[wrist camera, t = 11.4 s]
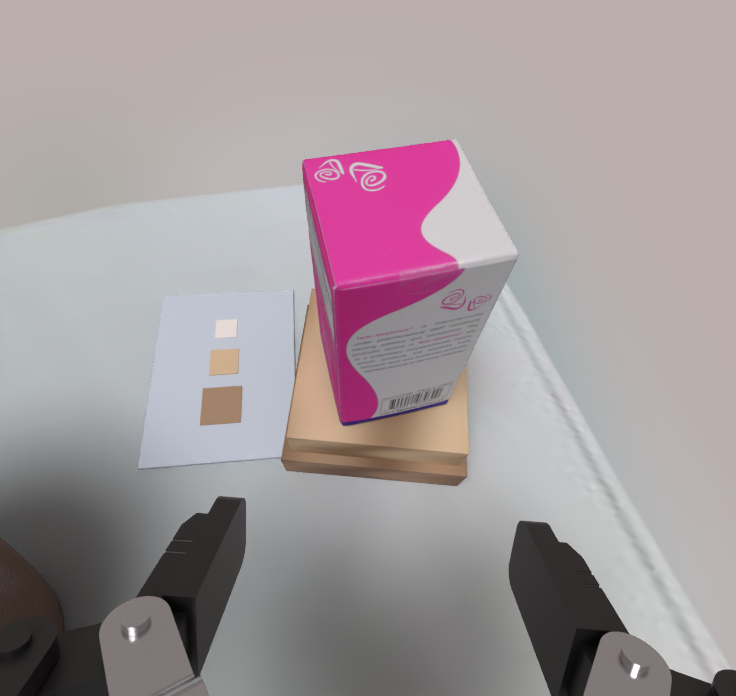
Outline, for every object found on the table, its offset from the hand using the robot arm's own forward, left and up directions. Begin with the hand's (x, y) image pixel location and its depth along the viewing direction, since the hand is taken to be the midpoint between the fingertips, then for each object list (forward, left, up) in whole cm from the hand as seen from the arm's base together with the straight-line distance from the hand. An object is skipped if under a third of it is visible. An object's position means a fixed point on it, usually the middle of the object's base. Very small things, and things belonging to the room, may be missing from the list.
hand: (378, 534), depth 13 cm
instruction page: (-10, +10, -12) cm, 19 cm away
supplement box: (0, +9, -8) cm, 12 cm away
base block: (0, +9, -12) cm, 15 cm away
